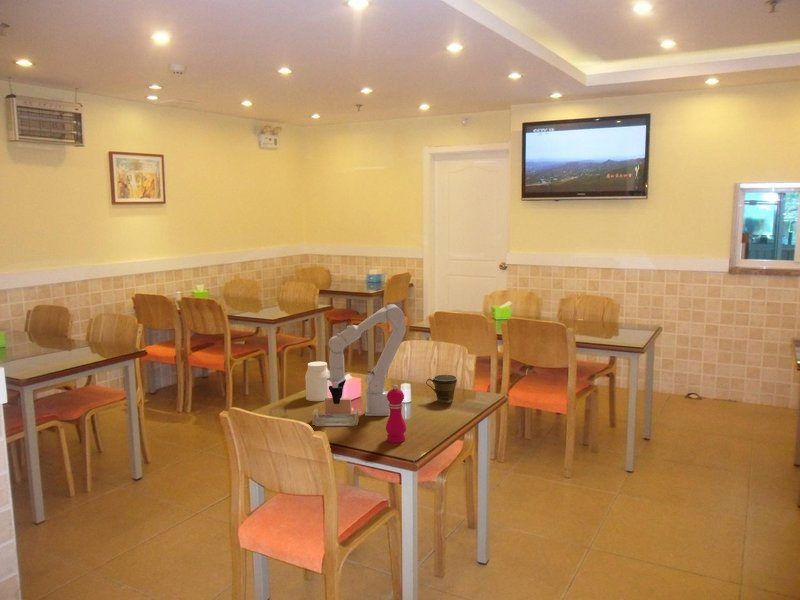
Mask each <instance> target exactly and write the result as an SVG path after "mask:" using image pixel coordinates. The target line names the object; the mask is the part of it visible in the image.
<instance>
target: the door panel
mask: <svg viewBox="0 0 800 600" xmlns="http://www.w3.org/2000/svg"><path fill="white" fill-rule="evenodd" d="M324 414H352V398H351V397H342V398H340V403H339V404H334V403H333V398H332V397H329V398H325V401H324Z"/></svg>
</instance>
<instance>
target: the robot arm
mask: <svg viewBox="0 0 800 600" xmlns="http://www.w3.org/2000/svg"><path fill="white" fill-rule="evenodd" d="M388 322H389V325H390V327H391V329H392V331H391V333H390V335H389V338H388V339H387V342H386V344H385V346H384V347H383V350H382V352H381V354H380V356H379V358H378V360H377V362H376V365H374V366H373V368H372V370H371V371H370V372H369V373H368V374H367V375H366V377H365V383H366V385H367V388H366V390H365V400H366V401H365V403H366V406H365V407H366V408H365V412H364V416H365V417H375V416H376V417H384V416H385V417H386V416H390V408H389V404H388V403H389V401H388V400H387V393H388V392H389V391H390V390H388V391H387V390H385V382H386V379H387V374H388V370H389V368H390V366H391V364H392V362H393V361H394V358H395V356H396V354H397V352H398V350H399V348H400V345H401V343H402V341H403V339H404V337H405V335H406V333H407V326H406V316H405V314H404V312H403V310H402V309H401V308H400V307H398V305H397V304H395V303H390V304H387V305H386V306H384V307H381V308H380V309H378V310H377V311H376V312H374V313H373V314H371V315H370V316H368V317H367V318H366V319H364V320H362V322H360V323H359V324H358V325H355V324H351V325H347V326H346V329H344V330H343V331H341V332H340V333H339V332H337V333H336V335H333V336H332V337H330V338H329V340H328V343H327V344H328V347H329V356H328V358H329V371H330V377H328V378H327V380H329V381H330V384H332V385H330V386H329V390H330V392H331V395H330V396H331V398H333V403H334V404H339V403H340V398H343V394H344V393H343V391H344V386H345V383H346V381H347V380H346V376H345V355H344V350H345V347H348V346H349V345H351V344H352V343H354V342H355V341H357V340H359V339H360V338H361V336H362V333H363V332H365V331H367V330H368V329H371V328H372V327H374V326H375V325H377V324H379V323H388Z"/></svg>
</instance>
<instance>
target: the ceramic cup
mask: <svg viewBox="0 0 800 600" xmlns="http://www.w3.org/2000/svg"><path fill="white" fill-rule="evenodd" d="M429 381H431V382H432V383H433V385H434V388H433V386H431V385H430V384H428V382H429ZM425 382H426V385H427V386H428V387H429V388H430V389H432V390H433V391H434V393H435V394H436V400H437V402H438V403H441V404H449V403H453V402H454V397H455V396H454V395H455V390H456V387H457V382H458V377H457V376H456V375H453V374H452V375H451V374H437V375H434V376H433V378H428V379H426V381H425Z"/></svg>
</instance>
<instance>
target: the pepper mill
mask: <svg viewBox="0 0 800 600" xmlns="http://www.w3.org/2000/svg"><path fill="white" fill-rule="evenodd" d="M388 391H389V392H388V393H387V400H388V401H389V403H388V404H389V408H390V411H389V417H388V419H387V422H386V424H385V431H386V433H387V435H386V440H387V442H389V443H392V444H401V443H403V442H404V441H405V440H406V435H405V433H406V431H407V424H406V421H405V419H404V418H403V414H402V408H403V407H404V406H403V404H404V402H403V401H404V399H405V394H404V392H403V391H402V390H401V389H399V387H398V385H397V384H393V385H392V389H390V390H388Z"/></svg>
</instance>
